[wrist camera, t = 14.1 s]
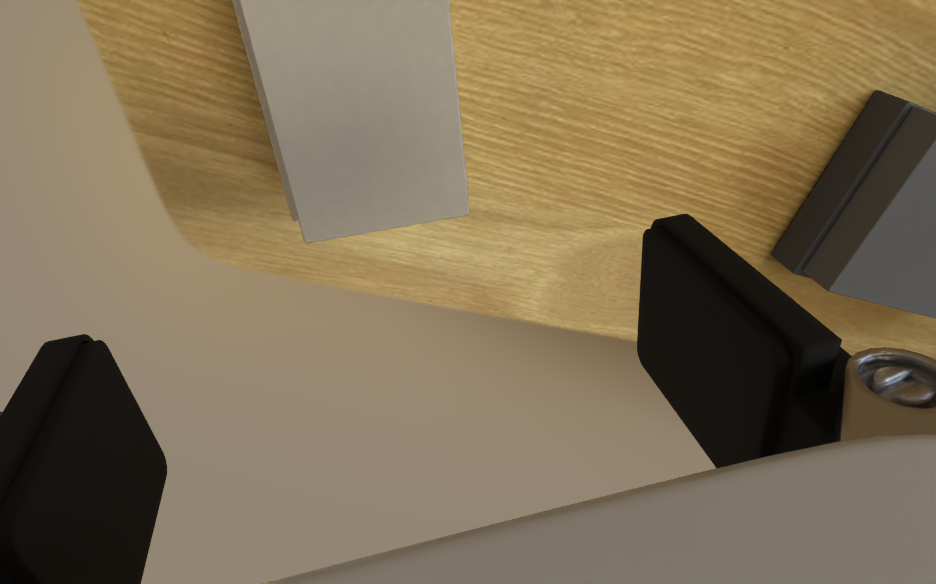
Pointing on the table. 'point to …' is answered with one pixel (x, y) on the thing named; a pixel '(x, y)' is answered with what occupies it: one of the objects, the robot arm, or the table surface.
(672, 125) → the table surface
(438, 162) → the beige flat block
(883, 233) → the grey books
